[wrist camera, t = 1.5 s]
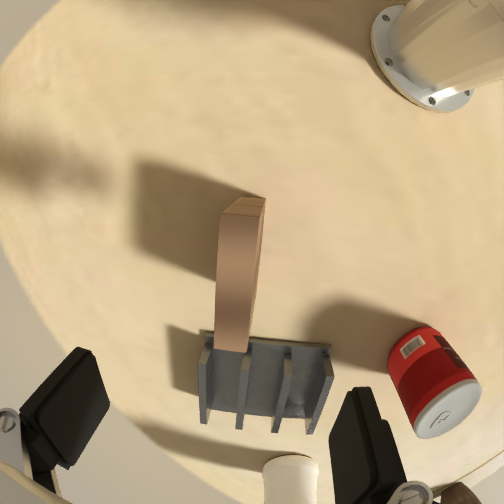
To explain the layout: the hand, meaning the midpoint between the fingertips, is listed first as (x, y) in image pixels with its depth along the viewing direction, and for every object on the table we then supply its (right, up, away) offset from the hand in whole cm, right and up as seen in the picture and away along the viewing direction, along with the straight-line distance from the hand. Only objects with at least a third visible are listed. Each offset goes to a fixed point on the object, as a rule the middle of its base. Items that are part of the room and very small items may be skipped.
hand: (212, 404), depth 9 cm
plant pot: (+64, -68, +35) cm, 99 cm away
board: (+1, +6, +17) cm, 19 cm away
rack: (+3, -10, +22) cm, 24 cm away
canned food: (+21, -7, +20) cm, 30 cm away
